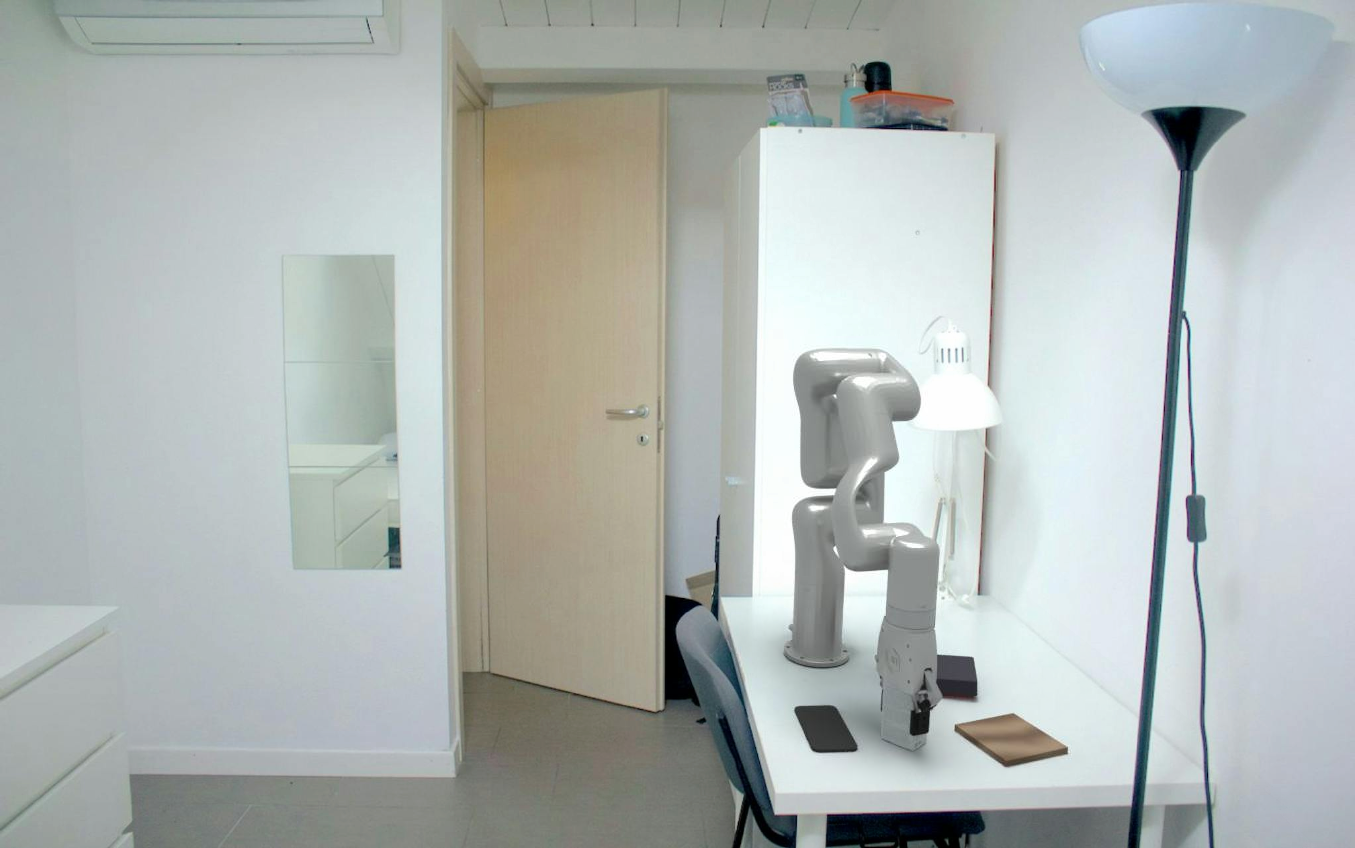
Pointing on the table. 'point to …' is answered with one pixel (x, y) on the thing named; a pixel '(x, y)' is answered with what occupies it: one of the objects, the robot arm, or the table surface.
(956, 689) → the dark gray stepped block
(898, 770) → the table surface
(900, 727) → the skincare box
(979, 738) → the walnut pad
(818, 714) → the phone
